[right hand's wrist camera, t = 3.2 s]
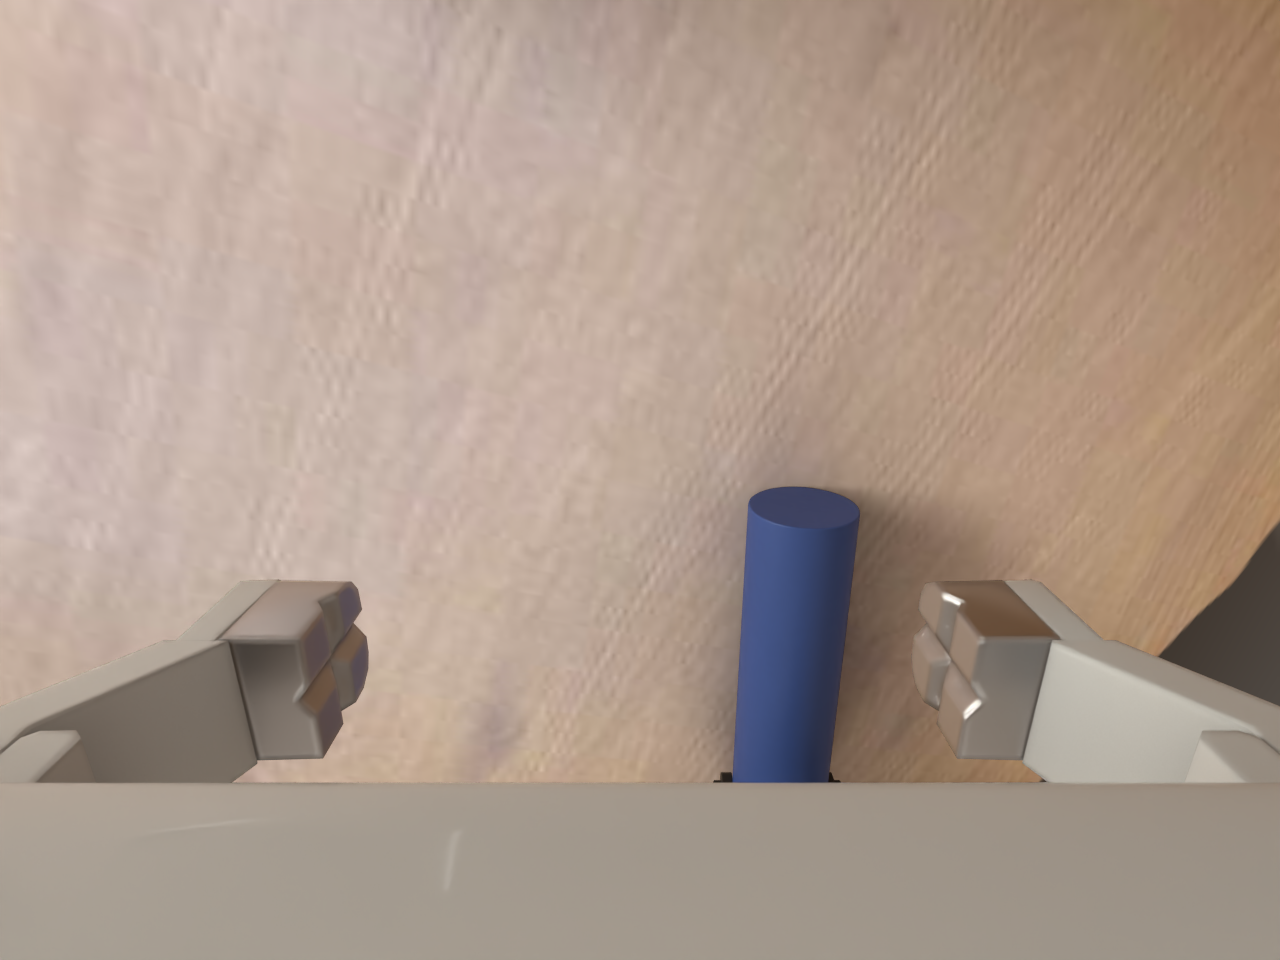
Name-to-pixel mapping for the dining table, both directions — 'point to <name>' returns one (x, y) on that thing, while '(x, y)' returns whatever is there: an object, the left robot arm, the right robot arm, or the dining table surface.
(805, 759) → the cylinder
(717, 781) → the left robot arm
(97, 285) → the dining table surface
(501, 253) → the dining table surface
